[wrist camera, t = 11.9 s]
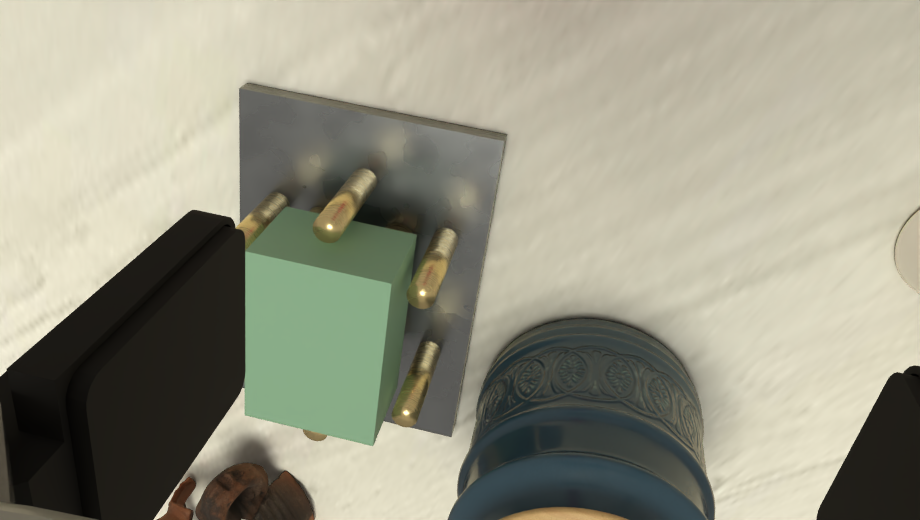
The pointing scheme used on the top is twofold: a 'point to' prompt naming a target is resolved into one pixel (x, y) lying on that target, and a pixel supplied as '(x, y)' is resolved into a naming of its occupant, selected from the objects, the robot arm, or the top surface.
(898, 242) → the cosmetic bottle
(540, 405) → the canister
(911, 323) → the top surface
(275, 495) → the brown curved shards
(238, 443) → the top surface
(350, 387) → the green boxy piece
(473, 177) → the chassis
